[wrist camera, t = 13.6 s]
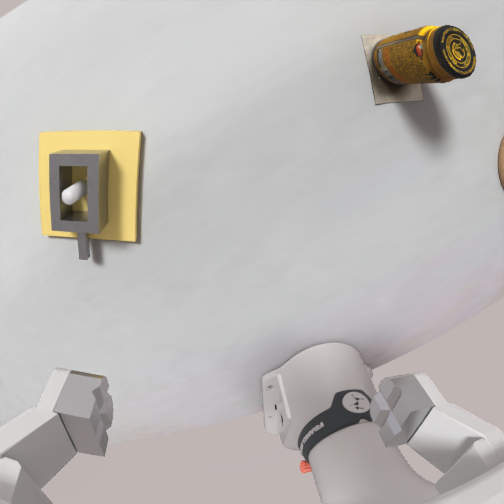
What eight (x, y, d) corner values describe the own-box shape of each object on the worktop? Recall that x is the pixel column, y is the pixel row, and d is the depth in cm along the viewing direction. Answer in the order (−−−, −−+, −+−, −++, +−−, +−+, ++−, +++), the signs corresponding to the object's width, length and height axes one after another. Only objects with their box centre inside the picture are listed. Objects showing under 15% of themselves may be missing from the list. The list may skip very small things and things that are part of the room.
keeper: (136, 238, 35) (126, 258, 30) (45, 232, 33) (25, 250, 28) (141, 131, 31) (129, 134, 26) (43, 132, 29) (19, 136, 24)
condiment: (410, 36, 29) (475, 22, 18) (422, 100, 33) (490, 104, 22) (360, 35, 29) (420, 12, 18) (374, 103, 32) (438, 105, 22)
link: (109, 255, 35) (101, 269, 31) (66, 252, 34) (55, 265, 30) (109, 149, 30) (99, 153, 27) (63, 149, 29) (49, 154, 26)
